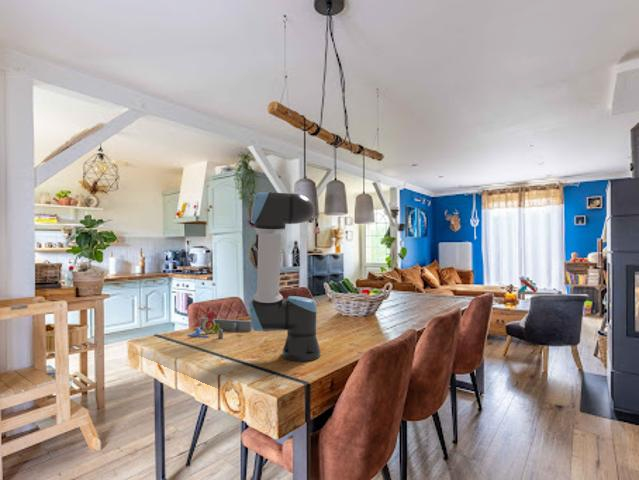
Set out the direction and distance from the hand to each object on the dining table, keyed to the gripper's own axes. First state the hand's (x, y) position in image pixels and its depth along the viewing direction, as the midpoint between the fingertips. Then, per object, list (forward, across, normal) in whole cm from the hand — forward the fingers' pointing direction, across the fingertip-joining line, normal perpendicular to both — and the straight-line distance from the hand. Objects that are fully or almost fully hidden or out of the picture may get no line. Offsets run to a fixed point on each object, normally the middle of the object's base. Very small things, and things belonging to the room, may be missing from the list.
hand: (262, 280), depth 179 cm
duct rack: (+26, +20, +9) cm, 34 cm away
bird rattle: (+27, +23, +9) cm, 37 cm away
